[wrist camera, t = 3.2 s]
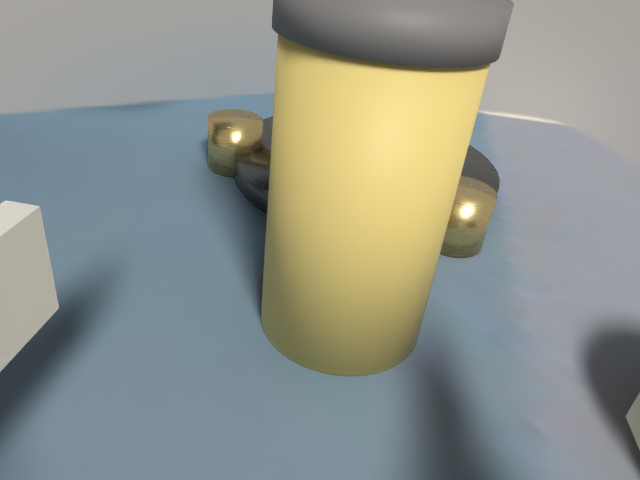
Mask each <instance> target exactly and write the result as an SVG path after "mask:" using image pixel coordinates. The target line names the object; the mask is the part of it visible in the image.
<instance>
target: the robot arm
mask: <svg viewBox="0 0 640 480" xmlns="http://www.w3.org/2000/svg"><path fill="white" fill-rule="evenodd" d="M58 309H59V305H58V300H57V294H56V289H55V284H54V279H53V273H52V268H51V263H50V258H49V252H48V247H47V242H46V237H45V232H44V226H43V221H42V216H41V211H40V206H35V205H29V204H23V203H18V202H12V201H4V202H3V203H1V204H0V372H1V371H2V370H3V368H4V367H5V366H6V365H7V364H8V363H9V362H10V361H11V360H12V359H13V358H14V356H15V355H16V354H17V353H18V352H19V351H20V350H21V349H22V348H23V347H24V346H25V345H26V343H27V342H28V341H29V340H30V339H31V338H32V337H33V336H34V335H35V334H36V333H37V332H38V330H39V329H40V328H41V327H42V326H43V325H44V324H45V323H46V322H47V321H48V320H49V319H50V317H51V316H52V315H53V314H54V313H55V312H56V311H57V310H58ZM626 419H627V421H628V423H629V426H630V428H631V431H632V433H633V436H634V438H635V440H636V443H637V445H638V448H639V450H640V393H639V394H638V396H637V398H636V399H635V401H634V403H633V405H632V406H631V408H630V410H629V411H628V413H627V415H626Z"/></svg>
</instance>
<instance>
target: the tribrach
mask: <svg viewBox="0 0 640 480" xmlns="http://www.w3.org/2000/svg"><path fill="white" fill-rule="evenodd" d="M272 126H273V117H270V118H266V119H264V120H263V119H262V117H261V116H259V115H257V114H255V113H252V112H249V111H244V110H234V109H228V110H219V111H215V112H213V113H211V114H209V116H208V167H209V168H210V170H212V171H213V172H215V173H217V174H220V175H224V176H230V177H235V181H236V183H237V185H238V187H239V189H240V190H241V192H242V193H243V194H244V195H245V197H246V198H247V199H249V200H250V201H251V202H252V203H253V204H254V205H255V206H257V207H258V208H260V209H261V210H263V211H264V212H266V213H267V208H268V191H269V175H270V159H271V143H272ZM499 181H500V180H499V176H498V173H497V171H496V169H495V167H494V166H493V165H492V163H491V162H490V161H489V160H488V159H487V158H486V157H485V156H484V155H483V154H481V153H480V152H479V151H477V150H476V149H474V148H473V147H472V146H470V145H469V146H468V150H467V153H466V157H465V161H464V165H463V168H462V172H461V176H460V180H459V184H458V187H457V191H456V195H455V199H454V202H453V206H452V210H451V214H450V217H449V221H448V225H447V229H446V232H445V236H444V240H443V244H442V248H441V251H440V254H443V255H446V256H451V257H458V258H465V257H471V256H474V255H476V254H478V253H479V252H480V250H481V248H482V244H483V241H484V238H485V235H486V232H487V228H488V225H489V222H490V219H491V215H492V212H493V209H494V206H495V203H496V199H497V192H498V189H499Z"/></svg>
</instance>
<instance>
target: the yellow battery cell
mask: <svg viewBox="0 0 640 480" xmlns="http://www.w3.org/2000/svg"><path fill="white" fill-rule="evenodd" d="M513 6H514V3H513V2H512V1H511V0H273V15H272V28H273V30H274V31H275V32H276V33H278V45H277V62H276V77H275V94H274V110H273V126H272V143H271V159H270V175H269V191H268V208H267V224H266V240H265V257H264V273H263V289H262V305H261V322H262V327H263V329H264V332H265V334H266V336H267V337H268V339H269V341H270V342H271V343H272V344H273V345H274V347H275V348H276V349H278V350H279V351H280V352H281V353H282V354H283V355H285V356H286V357H288V358H289V359H290V360H292V361H294V362H296V363H298V364H299V365H302V366H304V367H306V368H309V369H312V370H315V371H318V372H321V373H326V374H331V375H338V376H365V375H371V374H376V373H380V372H383V371H386V370H388V369H390V368H392V367H394V366H396V365H398V364H399V363H401V362H402V361H403V360H404V359H406V358H407V357H408V356H409V354H410V353H411V352H412V350H413V349H414V347H415V344H416V342H417V338H418V334H419V330H420V327H421V323H422V319H423V315H424V312H425V308H426V304H427V300H428V296H429V293H430V289H431V285H432V281H433V278H434V274H435V270H436V266H437V263H438V259H439V255H440V251H441V248H442V244H443V240H444V236H445V232H446V229H447V225H448V221H449V217H450V214H451V210H452V206H453V202H454V199H455V195H456V191H457V187H458V184H459V180H460V176H461V172H462V168H463V165H464V161H465V157H466V153H467V150H468V146H469V142H470V138H471V135H472V131H473V127H474V123H475V120H476V116H477V112H478V108H479V104H480V100H481V97H482V93H483V89H484V86H485V82H486V78H487V74H488V70H489V67H490V63H493V62H495V61H496V60H498V59H499V57H500V53H501V50H502V46H503V42H504V39H505V35H506V31H507V28H508V24H509V20H510V17H511V13H512V9H513Z"/></svg>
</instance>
